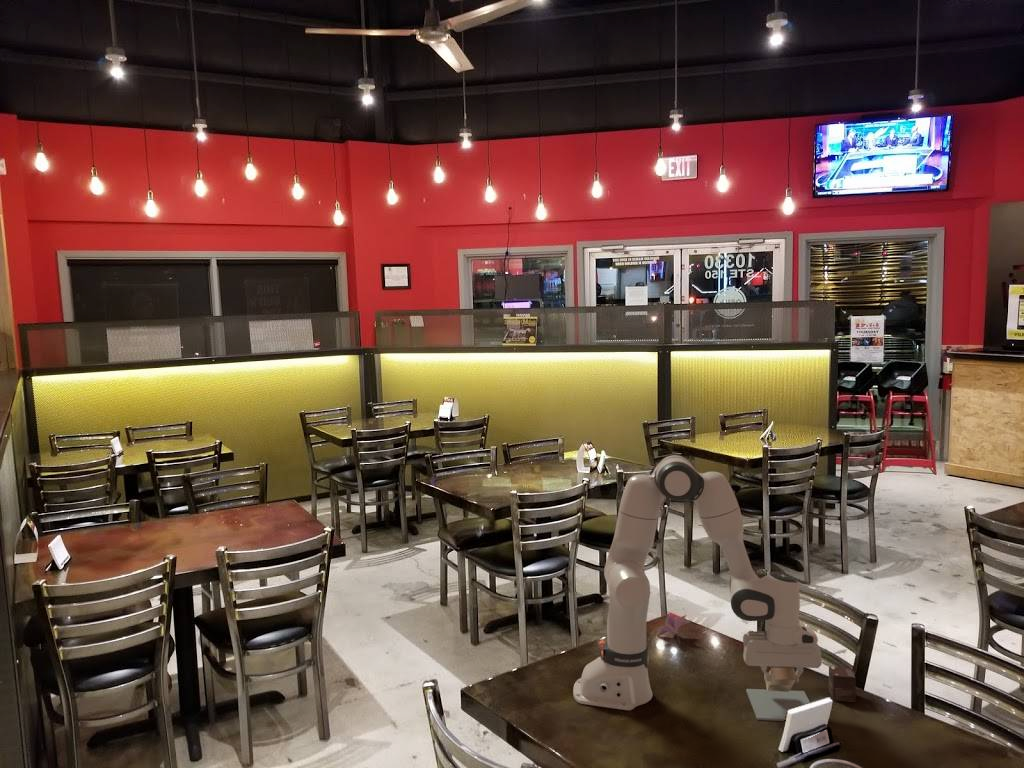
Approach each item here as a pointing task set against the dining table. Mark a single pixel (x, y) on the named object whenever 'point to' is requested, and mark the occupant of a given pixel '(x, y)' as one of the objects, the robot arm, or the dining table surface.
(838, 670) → the box
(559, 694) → the dining table surface
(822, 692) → the dining table surface
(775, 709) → the placemat
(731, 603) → the robot arm
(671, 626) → the lily
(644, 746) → the dining table surface
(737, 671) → the dining table surface
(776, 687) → the birch slab
